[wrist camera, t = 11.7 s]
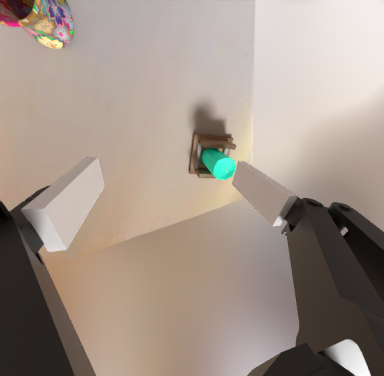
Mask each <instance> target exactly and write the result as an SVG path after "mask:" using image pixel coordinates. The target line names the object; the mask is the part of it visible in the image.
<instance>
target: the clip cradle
mask: <svg viewBox="0 0 384 376" xmlns="http://www.w3.org/2000/svg"><path fill="white" fill-rule="evenodd" d="M232 141H233V138H231V137H221V136H212V135H202V134H194V139H193V147H192V155H191V163H190V170H189V173H190V174H197V175H198V177H199V178H215V176H214V175H213V174H212V173H211V172H210V171H209V169H208V168H207V167H206V166H205V165H204V163H203V162H202V160H201V156H202V153H203V151H204V150H205V149H207V148H216V149H218V150H219V151H221V152H222V153H224V154H225V155H227V156H228V157H229V153H230V149H234V150H235V148H236V145H235V144H233V143H232Z"/></svg>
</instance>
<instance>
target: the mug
mask: <svg viewBox="0 0 384 376" xmlns="http://www.w3.org/2000/svg"><path fill="white" fill-rule="evenodd" d="M0 24H2V25H6V26H11V27H22V28H23V29H24V30H25V31H26V32H27V33H28V34H29V35H30V36H31V37H32V38H33V39H35V40H36V41H38V42H39V43H41V44H43V45H45V46H47V47H50V48H63V47H66V46H67V45H68V44H69V43H70V42H71V40H72V38H73V34H74V24H73V19H72V16H71V13H70V10H69V8H68V6H67V4H66V2H65V1H64V0H0Z"/></svg>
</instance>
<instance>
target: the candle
mask: <svg viewBox="0 0 384 376" xmlns="http://www.w3.org/2000/svg"><path fill="white" fill-rule="evenodd" d="M201 160H202V162H203V163H204V165H205V166H206V167H207V168H208V169H209V171H210V172H211V173H212V174H213V175H214V176H215V178H217V179H219V180H226V179H228V178H230V177H232V175H233V174H234V172H235V169H236V164H235V162H234V160H232V159H231V158H230V157H228V156H227V155H225V154H224V153H222V152H221V151H219V150H218V149H216V148H207V149H205V150H204V151H203V153H202V156H201Z"/></svg>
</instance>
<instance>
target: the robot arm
mask: <svg viewBox="0 0 384 376" xmlns="http://www.w3.org/2000/svg"><path fill="white" fill-rule="evenodd" d="M232 185H233V186H234V187H235V188H236V189H237V190H238V191H239V192H240V193H241V194H242V195H243V196H244V197H245V198H246V199H247V200H248V201H249V202H250V203H251V204H252V205H253V206H254V207H255V209H256V210H257V211H258V212H259V213H260V214H261V215H262V216H263V217H264V218H265V219H266V220H267V221H268V222H269V223H270V224H271V225H272V226H279V225H281V224H282V222H283V221H284V219H285V220H286V221H287V224H286V226H285V228H284V229H283V230H282V232H281V234H283V233H284V232H286V234H285V235H286V236H287V240H288V247H289V254H290V261H291V268H292V275H293V282H294V289H295V296H296V303H297V310H298V316H299V332H298V335H297V338H296V347H294V348H291V349H289V350H286V351H284V352H281V353H280V354H278V355H276V356H275V357H273V358H271V359H270V360H268V361H266V362H265V363H263V364H261V365H259V366H258V367H256V368H254V369H253V370H252V371H251V372H250V373H249V374H248V375H247V376H384V232H383V231H382V230H380V229H379V228H378V227H376V226H375V225H374V224H373V223H371V222H370V221H369V220H367V219H366V218H365V217H364V216H362V215H361V214H360V213H358V212H357V211H356V210H354V209H353V208H351V207H349V206H348V205H346V204H343V203H337V202H334V203H332V204H331V206H330V207H329V208H327V207H324V206H323V205H322V204H321V203H319V202H317V201H316V200H313V199H309V198H303V199H300V198H299V197H298V195H296V194H295V193H293V192H291V191H290V190H288V189H287V188H285V187H284V186H282V185H281V184H279V183H277V182H276V181H274V180H273V179H271V178H270V177H268V176H267V175H265V174H263V173H262V172H260V171H259V170H257V169H256V168H254V167H253V166H251V165H249V164H248V163H246V162H245V161H238V164H237V168H236V171H235V175H234V178H233V182H232ZM104 187H105V185H104V181H103V177H102V173H101V169H100V165H99V161H98V157H86V158H85V159H84V160H83V161H81V162H80V163H79V164H78V165H76V166H75V167H74V168H72V169H71V170H70V171H69V172H67V173H66V174H65V175H64V176H62V177H61V178H60V179H59V180H57V181H56V182H55V183H54V184H52V185H51V186H47V187H44V188H42V189H40V190H38V191H37V192H35V193H34V194H33V195H31V197H29V198H27V199H26V200H25V201H23V202H22V203H21V204H19V205H18V206H16V207H15V208H14V209H12V210H11V211H10V212H9V211H8V210H7V208H6V207H5V206H4V204H3V203H2V202H1V201H0V376H96V374H95V372H94V370H93V368H92V366H91V363H90V361H89V359H88V357H87V355H86V353H85V350H84V348H83V346H82V344H81V342H80V339H79V337H78V335H77V333H76V331H75V329H74V327H73V324H72V322H71V320H70V318H69V316H68V313H67V311H66V309H65V307H64V305H63V303H62V300H61V298H60V296H59V294H58V292H57V290H56V287H55V285H54V283H53V281H52V279H51V277H50V274H49V273H48V271H47V268H46V266H45V263H44V261H43V259H42V257H41V255H40V254H39V253H38V251H39V250H40V248H41V247H42V246H43V244H44V245H45V247H46V249H47V250H48V252H52V251H61V250H67V248H68V247H69V245H70V243H71V242H72V240H73V238H74V237H75V235H76V233H77V232H78V230H79V228H80V227H81V225H82V223H83V222H84V220H85V218H86V217H87V215H88V213H89V212H90V210H91V208H92V207H93V205H94V203H95V202H96V200H97V198H98V197H99V195H100V193H101V192H102V190H103V188H104ZM345 227H346V228H347V229H348V232H347V233H346V234H345V235H344V236H342V234H341V233H340V232H341V231H342V230H343V229H344V228H345Z"/></svg>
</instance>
